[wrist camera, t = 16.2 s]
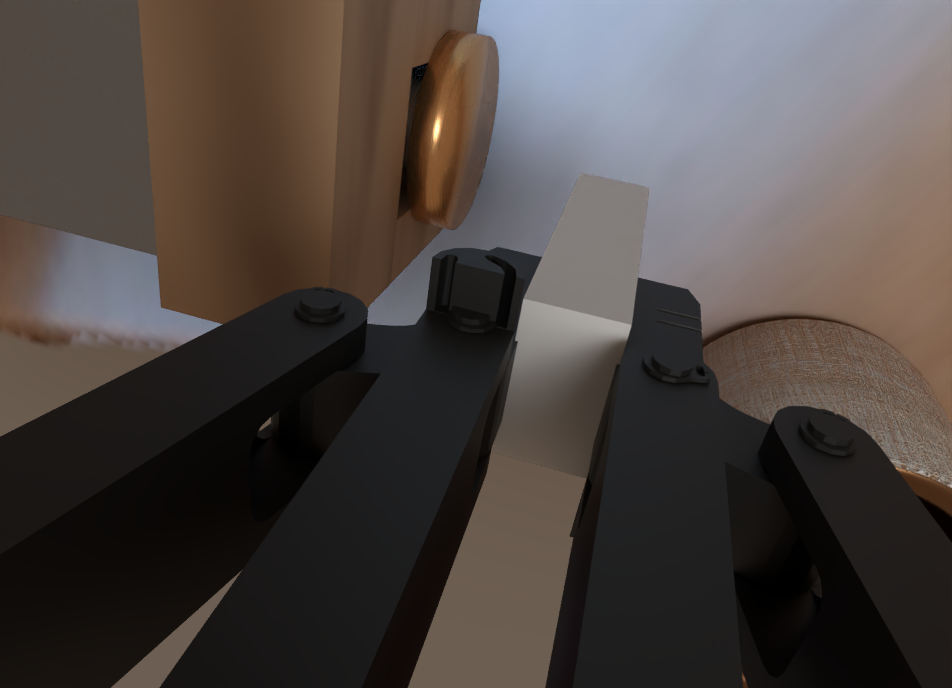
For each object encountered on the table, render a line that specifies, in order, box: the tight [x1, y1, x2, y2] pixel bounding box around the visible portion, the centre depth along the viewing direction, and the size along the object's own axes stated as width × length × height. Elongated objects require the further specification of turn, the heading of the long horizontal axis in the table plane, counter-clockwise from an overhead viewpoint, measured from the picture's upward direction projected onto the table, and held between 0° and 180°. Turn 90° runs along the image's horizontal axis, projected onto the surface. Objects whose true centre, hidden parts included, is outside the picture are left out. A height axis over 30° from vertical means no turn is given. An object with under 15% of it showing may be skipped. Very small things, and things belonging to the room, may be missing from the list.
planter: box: [703, 319, 952, 688], centre depth 26 cm, size 11×11×10 cm
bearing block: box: [0, 0, 157, 255], centre depth 25 cm, size 10×9×9 cm
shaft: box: [402, 30, 499, 230], centre depth 25 cm, size 14×6×6 cm, turn 81°
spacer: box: [138, 0, 481, 324], centre depth 23 cm, size 5×9×12 cm, turn 171°
